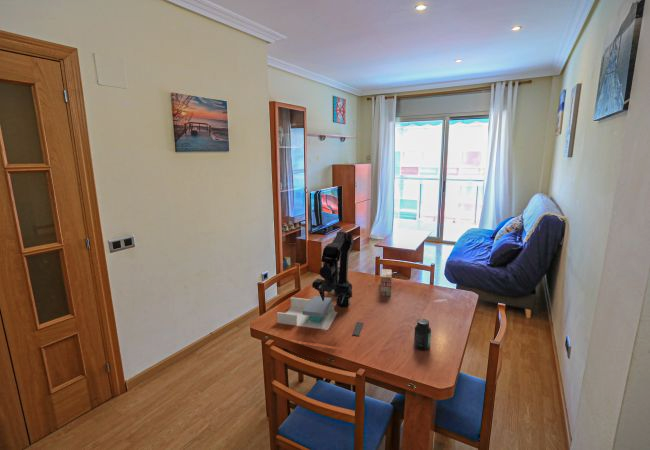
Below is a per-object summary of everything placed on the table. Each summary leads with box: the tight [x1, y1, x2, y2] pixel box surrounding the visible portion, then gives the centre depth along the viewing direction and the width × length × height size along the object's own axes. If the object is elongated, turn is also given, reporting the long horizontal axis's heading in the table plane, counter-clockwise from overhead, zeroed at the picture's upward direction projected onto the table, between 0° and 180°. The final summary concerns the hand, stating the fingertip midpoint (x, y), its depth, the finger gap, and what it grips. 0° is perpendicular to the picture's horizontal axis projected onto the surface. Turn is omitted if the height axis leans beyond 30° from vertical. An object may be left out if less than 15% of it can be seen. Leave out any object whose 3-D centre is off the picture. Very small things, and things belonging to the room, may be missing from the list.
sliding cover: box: [302, 295, 333, 317], centre depth 169 cm, size 10×18×2 cm, turn 164°
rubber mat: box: [352, 321, 364, 337], centre depth 162 cm, size 12×12×1 cm
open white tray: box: [276, 296, 338, 331], centre depth 171 cm, size 26×19×6 cm
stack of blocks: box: [379, 268, 393, 297], centre depth 207 cm, size 21×6×12 cm, turn 169°
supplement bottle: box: [413, 318, 432, 351], centre depth 145 cm, size 7×7×12 cm
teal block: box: [311, 316, 323, 323], centre depth 168 cm, size 5×5×5 cm
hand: (332, 302), depth 163 cm, fingers open, 9 cm apart
